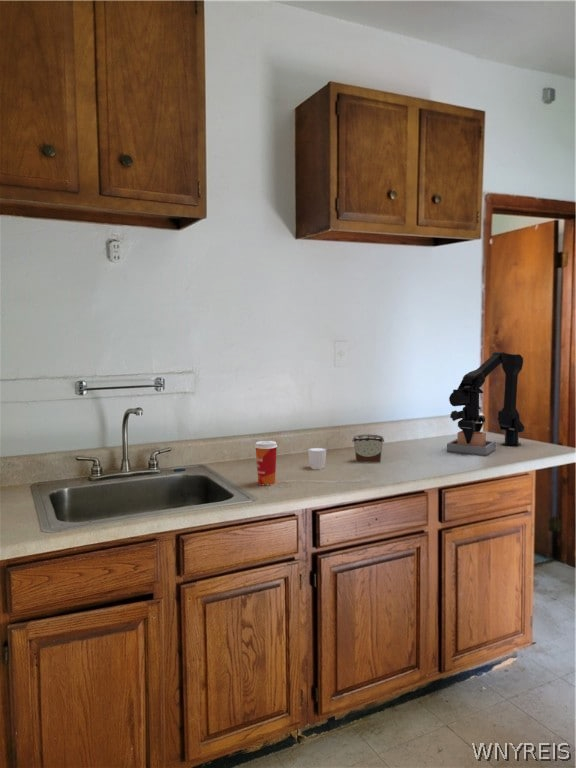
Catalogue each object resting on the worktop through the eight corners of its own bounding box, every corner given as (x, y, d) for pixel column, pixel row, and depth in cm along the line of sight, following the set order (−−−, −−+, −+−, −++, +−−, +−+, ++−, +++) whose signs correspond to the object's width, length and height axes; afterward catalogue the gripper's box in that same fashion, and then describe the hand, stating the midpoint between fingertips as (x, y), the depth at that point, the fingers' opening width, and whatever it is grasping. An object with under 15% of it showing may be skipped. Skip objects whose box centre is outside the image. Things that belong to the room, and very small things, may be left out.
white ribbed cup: (328, 466, 217) (328, 447, 217) (323, 470, 211) (323, 451, 210) (311, 465, 219) (311, 447, 219) (306, 469, 213) (305, 450, 212)
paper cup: (255, 480, 197) (254, 440, 196) (277, 480, 198) (276, 440, 197) (255, 487, 189) (254, 445, 188) (278, 486, 190) (278, 444, 189)
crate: (457, 446, 251) (457, 438, 250) (495, 450, 242) (495, 441, 241) (446, 452, 239) (447, 443, 239) (486, 456, 230) (486, 447, 230)
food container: (383, 459, 228) (383, 434, 227) (384, 462, 222) (384, 437, 221) (352, 458, 229) (351, 434, 228) (352, 462, 223) (352, 436, 222)
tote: (461, 446, 246) (462, 430, 245) (485, 449, 240) (485, 432, 239) (457, 449, 241) (457, 432, 240) (481, 451, 235) (481, 434, 234)
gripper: (459, 400, 251) (459, 436, 252) (445, 405, 235) (445, 443, 237) (485, 402, 245) (485, 438, 246) (472, 407, 229) (472, 446, 231)
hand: (471, 441), depth 240 cm, fingers open, 9 cm apart
